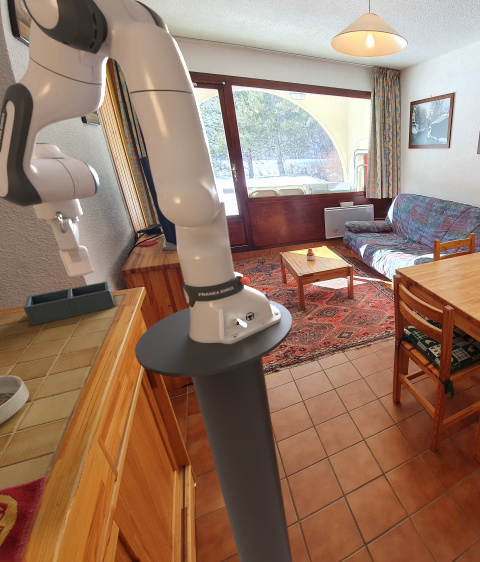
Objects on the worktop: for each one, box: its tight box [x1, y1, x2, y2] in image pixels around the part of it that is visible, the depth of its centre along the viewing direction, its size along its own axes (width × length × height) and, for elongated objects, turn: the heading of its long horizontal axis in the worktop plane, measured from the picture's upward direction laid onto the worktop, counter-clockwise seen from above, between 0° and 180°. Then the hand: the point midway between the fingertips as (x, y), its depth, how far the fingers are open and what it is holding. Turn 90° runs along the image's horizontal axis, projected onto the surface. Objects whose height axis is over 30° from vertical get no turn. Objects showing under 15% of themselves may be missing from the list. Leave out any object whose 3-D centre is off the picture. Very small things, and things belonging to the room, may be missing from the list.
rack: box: [23, 281, 116, 326], centre depth 89 cm, size 17×9×5 cm, turn 131°
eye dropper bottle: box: [58, 244, 95, 278], centre depth 86 cm, size 4×6×12 cm
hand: (77, 259), depth 87 cm, fingers closed on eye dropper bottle, 4 cm apart
